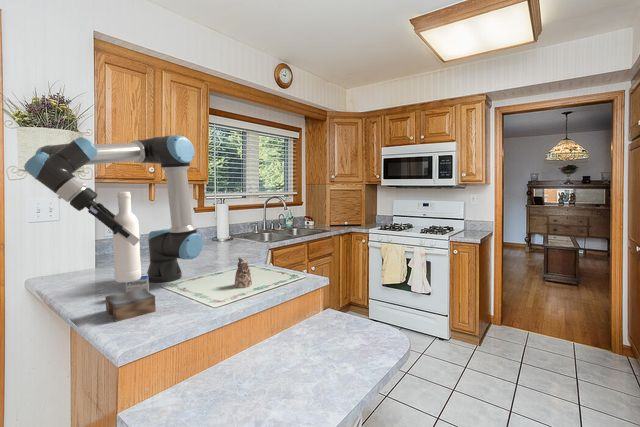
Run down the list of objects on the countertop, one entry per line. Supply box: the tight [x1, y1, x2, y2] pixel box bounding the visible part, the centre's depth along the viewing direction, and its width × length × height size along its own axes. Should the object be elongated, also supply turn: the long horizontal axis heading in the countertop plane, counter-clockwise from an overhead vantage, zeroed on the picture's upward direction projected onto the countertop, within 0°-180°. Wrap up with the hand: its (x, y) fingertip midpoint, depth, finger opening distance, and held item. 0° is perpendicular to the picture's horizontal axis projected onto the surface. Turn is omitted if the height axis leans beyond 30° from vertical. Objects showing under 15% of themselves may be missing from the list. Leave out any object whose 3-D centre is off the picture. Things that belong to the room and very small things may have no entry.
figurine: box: [234, 257, 253, 289], centre depth 147 cm, size 7×7×12 cm
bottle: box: [112, 191, 142, 283], centre depth 115 cm, size 8×8×30 cm
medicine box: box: [124, 273, 150, 293], centre depth 133 cm, size 8×4×9 cm, turn 118°
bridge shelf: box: [104, 289, 157, 322], centre depth 117 cm, size 12×12×6 cm
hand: (137, 240), depth 117 cm, fingers closed on bottle, 8 cm apart
